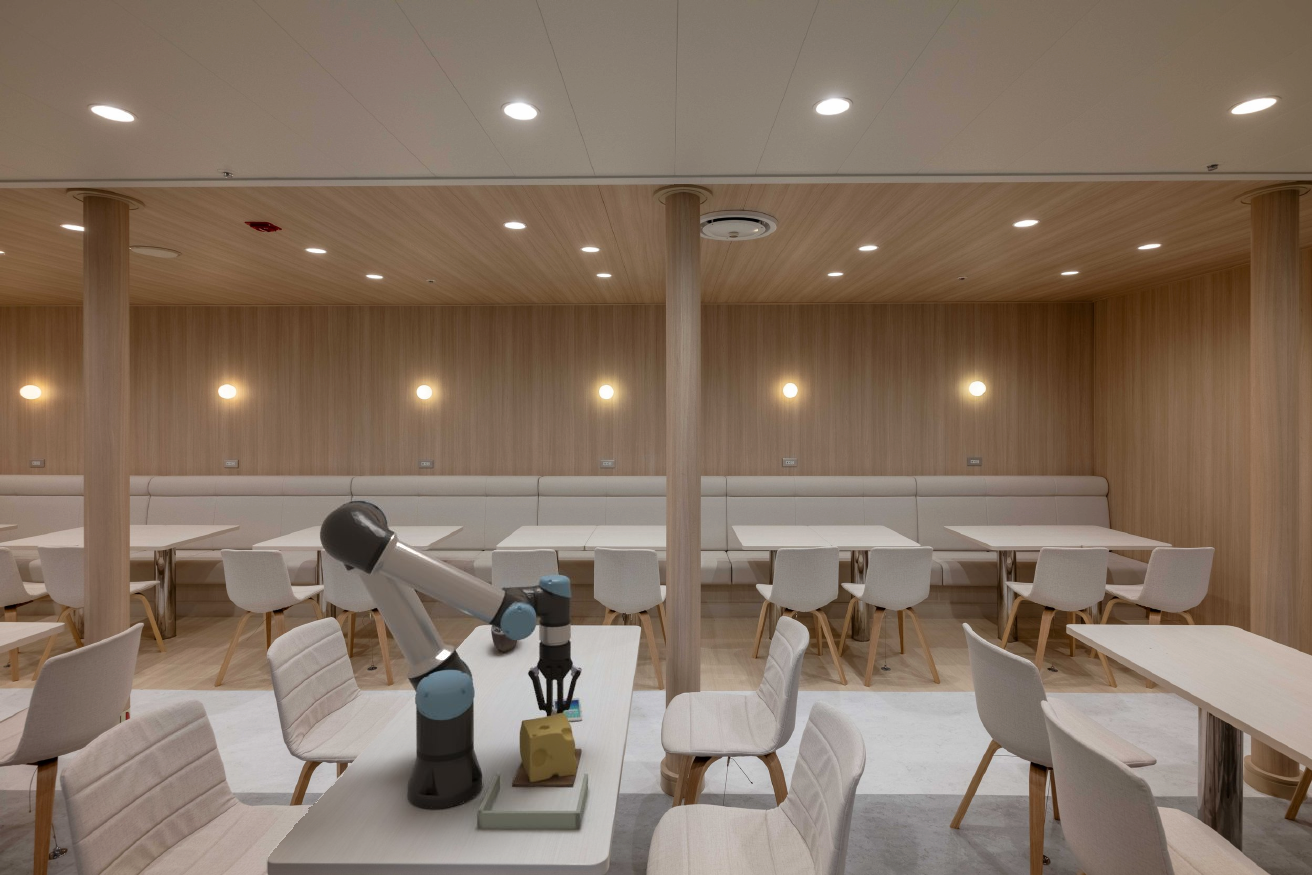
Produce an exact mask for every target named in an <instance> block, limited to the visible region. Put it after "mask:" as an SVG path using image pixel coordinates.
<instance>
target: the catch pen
mask: <svg viewBox="0 0 1312 875" xmlns="http://www.w3.org/2000/svg"><path fill="white" fill-rule="evenodd" d="M500 776H501V774H500V773H495V775H494V778H493V780H491V781H492V782H491V783H490V786H489V787H488V790H487V792H486V794H485V796H484V798H483V800H482V802H481V804H480V806H479V809H478V811H477V813H476V818H477V820H476V824H477V826H476V828H477V829H479V830H480V829H481V830H483V829H484V830H485V829H486V830H487V829H491V830H492V829H493V830H494V829H500V830H501V829H502V830H503V829H504V830H505V829H506V830H507V829H508V830H509V829H511V830H514V829H516V830H517V829H518V830H519V829H520V830H522V829H523V830H525V829H526V830H529V829H530V830H531V829H532V830H533V829H535V830H538V829H540V830H541V829H542V830H543V829H544V830H546V829H547V830H549V829H550V830H551V829H552V830H559V829H562V830H564V829H565V830H580V829H581V824H582V820H583V814H584V810H585V805H586V800H587V795H588V792H589V791H588V790H589V773H584V774H583V779H582V783H581V787H580V792H579V796H578V801H577V804H576V805H577V806H576V810H491V808H492V807H493V804H494V802H495V800H496V797H497V795H498V793H499V790H500V788H501V777H500Z"/></svg>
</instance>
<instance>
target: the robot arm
mask: <svg viewBox="0 0 1312 875" xmlns="http://www.w3.org/2000/svg"><path fill="white" fill-rule="evenodd" d="M319 539H320V543H321V546H322V548H323V549H324V551H325V552H326V553H327V554H328V555H329V556H330V557H331V558H333V559H334V560H336V561H339V562H341V563H343V566H344V567H345V569H346V571H347V572H348V573H352V574H356V575H358V577H359V579H360V580H361V582H362V584H363V586H364V587H365V589H366V590H367V592H368V595H369V596H370V598H371V599H372V601H373V603H374V605H375V607H376V608H377V610H378V612H379V614H380V615H381V617H382V620H383V621H384V623H385V624H386V626H387V628H388V630H389V632H390V633H391V635H392V637H393V639H394V640H395V642H396V644H397V645H398V648H399V649H400V651H401V653H402V655H403V657H404V659H405V660H406V662H407V663H408V669H407V672H406V677H407V678H408V680H409V683H410V685H411V686H412V688H413V689H414V692H415V698H414V699H415V700H414V701H415V707H416V708H415V710H416V711H415V715H416V716H415V720H416V721H415V722H416V723H415V726H416V730H415V732H416V736H415V738H416V740H415V744H416V745H415V746H416V753H415V754H416V758H415V759H414V764H413V766H412V770H411V773H410V776H409V779H408V782H407V799H408V801H409V802H410V803H411V804H412V805H414V806H416V807H418V808H423V809H428V810H429V809H430V810H432V809H433V810H434V809H437V810H438V809H446V808H452V807H456V806H458V805H461V804H464V803H466V802H468V801H471V799H474V798H475V797H476V796H477V795H478V794H480V792H481V790H482V788H483V772H482V768H481V765H480V762H479V760H478V757H477V755H476V752H475V744H474V742H475V738H474V737H475V730H474V729H475V728H474V727H475V726H474V725H475V724H474V723H475V722H474V721H475V718H474V717H475V712H474V710H475V708H474V707H475V705H474V702H475V700H474V699H475V686H474V681H473V680H474V679H473V674H472V671H471V669H470V667H469V665H468V664H467V663H466V662H465V661H464V660H463V659H462V658H461V657H460V655H459V654H458V652H457V650H456V648H455V647H454V645H450V644H446V643H444V641H443V638H442V637H441V635H440V634H439V632H438V630H437V628H436V626H435V624H434V623H433V621H432V619H431V617H430V615H429V613H428V612H427V610H426V608H425V607H424V604H423V602H422V601H421V599H420V597H419V595H418V594H417V592H416V591H418V592H420V593H421V594H424V595H426V596H428V597H431V598H433V599H435V600H437V601H439V602H441V603H442V604H443V603H444V604H445V605H448V606H450V607H452V608H454V609H456V610H458V611H461V612H462V613H465V614H467V615H470V616H471V617H474V618H476V619H478V620H480V621H482V622H484V623H487V624H489V625H490V626H491V627H492V626H494V627H496V628H499V629H501V630H502V632H503V633H504V634H505V635H506V636H507V637H509V638H511V639H513V640H518V641H521V640H525V639H527V638H529V637H530V636H531V635H532V634H533V632H534V631H535V630H536V627H537V619H539V621H538V623H539V624H538V625H539V626H538V631H539V632H538V636H539V638H538V639H539V641H540V642H539V645H538V646H539V647H538V648H539V649H538V650H539V652H538V654H539V655H538V661H537V663H536V666H533V667H530V668H529V670H528V673H527V675H528V676H529V678H530V679H531V681H532V682H531V683H532V685H533V689H534V693H535V694H534V696H535V698H536V702H537V707H538V710H539V711H544V712H545V713H546V717H547V716H551V715H555V714H559V713H563V711H565V710H569V709H570V705H571V702H572V698H574V693H575V689H576V685H577V680H578V679H579V678H580V676H581V675H582V667H577V666H576V665H574V662H573V660H572V658H571V656H572V651H571V650H572V649H571V648H572V643H571V638H572V632H571V630H572V628H571V626H572V625H571V622H572V621H571V620H572V619H571V616H572V615H571V612H572V610H571V609H572V591H571V579H570V578H569V577H568V576H566V575H561V574H550V575H543V576H541V577H540V578H539V583H538V585H531V586H529V585H528V586H513V587H505V586H501V587H497V586H495V585H493V584H491V583H489V582H486V581H485V580H482V579H481V578H478V577H476V576H474V575H472V574H470V573H468V572H466V571H464V570H462V569H460V568H458V567H456V566H453V565H451V564H450V563H447V562H446V561H443V560H441V559H439V558H437V557H435V556H433V555H431V554H429V553H427V552H424V551H423V550H421V549H419V548H416V547H415V546H412V545H411V544H408V543H407V542H404V541H402V540H400V539H399V538H398V534H397V532H395V531H393V530H391V529H390V528H389V525H388V519H387V516H386V514H385V512H384V511H383V510H382V509H381V508H380V507H379V506H378V505H376V504H375V503H372V502H370V501H366V500H351V501H349V502H346V503H343V504H342V505H340V506H338V507H337V508H336V509H334V510H333V511H332V512H330V513H329V514H328V515H327V516H326V517H325V518H324V520H323V522H322V524H321V527H320V530H319ZM569 672H571V673H570V676H571V680H570V684H569V687H568V688H569V689H568V693H567V696H566V698H567V700H566V703H564V704H563V699H564V680H565V678H566V676H567V675H568V674H569ZM540 673H541V675H542V676H543V677H544V679H545V684H546V689H545V690H546V693H545V694H546V696H545V697H546V698H545V697H544V692H543V688H542V684H541V679H540V675H539V674H540ZM554 681H556V699H557V709H554V708H553V705H554ZM545 699H546V701H545Z"/></svg>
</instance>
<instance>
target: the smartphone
mask: <svg viewBox="0 0 1312 875" xmlns="http://www.w3.org/2000/svg"><path fill="white" fill-rule="evenodd" d="M566 700H567V697H566V698H565V697H564V698H563V704H564V703H566ZM581 708H582V706H581V701H580V697H573V698H572V702H571V705H570V709H569V710H565V711H563V713H564V714H565V715H566V716H567V718H568V721H569V723H575V722H577V723H578V722H582V721H583V718H582V717H583V715H582V709H581ZM552 709H557V698H553V708H552Z"/></svg>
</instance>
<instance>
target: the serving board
mask: <svg viewBox="0 0 1312 875" xmlns="http://www.w3.org/2000/svg"><path fill="white" fill-rule="evenodd" d="M582 752H583V750H582V748H575V759H576V773H575V775H569V776H562V777H559V776H558V775H553V776H552V777H551V778H549V779H545V780H541V781H536V782H530V779H529V776H528V774H527V772H526V770H525V768H524V766H523V763H522V761H521V762H520V764H519V767H518V770H517V771H516V773H515V777H514V778H513V781H512V783H511V787H513V788H514V787H515V788H516V787H519V788H521V787H523V788H526V787H527V788H528V787H530V788H531V787H533V788H534V787H536V788H541V787H543V788H545V787H547V788H550V787H552V788H553V787H554V788H555V787H557V788H559V787H560V788H562V787H563V788H565V787H566V788H569V787H570V788H573V787H574V784H575V780H576V776H577V772H578V768H579V765H580V764H579V763H580V760H581V755H582Z"/></svg>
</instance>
